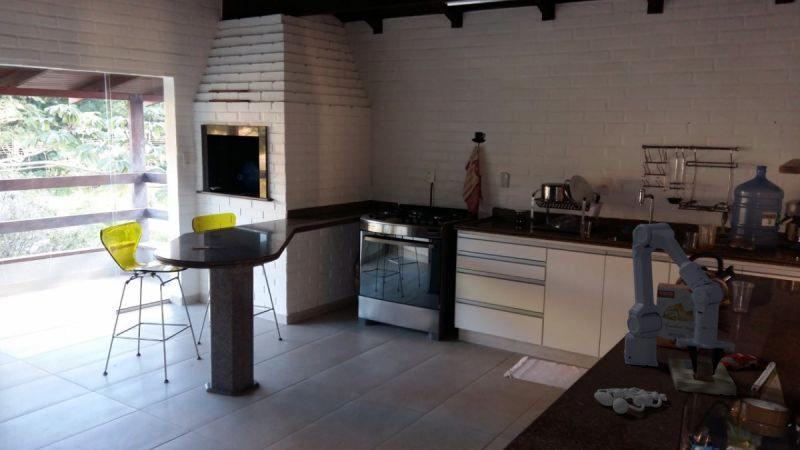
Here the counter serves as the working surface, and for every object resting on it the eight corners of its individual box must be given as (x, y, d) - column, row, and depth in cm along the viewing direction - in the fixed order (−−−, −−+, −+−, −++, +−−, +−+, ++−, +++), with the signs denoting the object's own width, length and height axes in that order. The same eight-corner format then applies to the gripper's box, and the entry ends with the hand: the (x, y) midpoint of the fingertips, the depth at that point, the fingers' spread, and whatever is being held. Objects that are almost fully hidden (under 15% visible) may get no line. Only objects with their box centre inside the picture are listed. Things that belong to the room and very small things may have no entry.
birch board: (676, 390, 177) (676, 381, 176) (668, 366, 196) (668, 357, 195) (736, 396, 172) (736, 386, 172) (721, 370, 191) (722, 362, 191)
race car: (722, 372, 191) (723, 359, 190) (711, 366, 196) (711, 353, 196) (762, 369, 193) (763, 356, 192) (749, 363, 198) (750, 350, 198)
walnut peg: (696, 388, 178) (697, 364, 177) (694, 383, 182) (695, 359, 181) (711, 389, 177) (713, 365, 176) (709, 384, 180) (710, 360, 180)
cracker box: (653, 346, 215) (656, 285, 212) (655, 341, 220) (658, 281, 217) (699, 352, 208) (702, 289, 205) (700, 346, 213) (703, 285, 211)
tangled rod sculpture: (640, 392, 179) (640, 377, 179) (681, 407, 166) (681, 392, 166) (585, 401, 172) (585, 386, 171) (622, 418, 158) (622, 402, 158)
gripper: (679, 328, 175) (677, 375, 177) (738, 332, 171) (735, 380, 173) (676, 321, 182) (674, 366, 184) (732, 325, 178) (729, 371, 179)
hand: (703, 373), depth 179 cm, fingers closed on walnut peg, 4 cm apart
